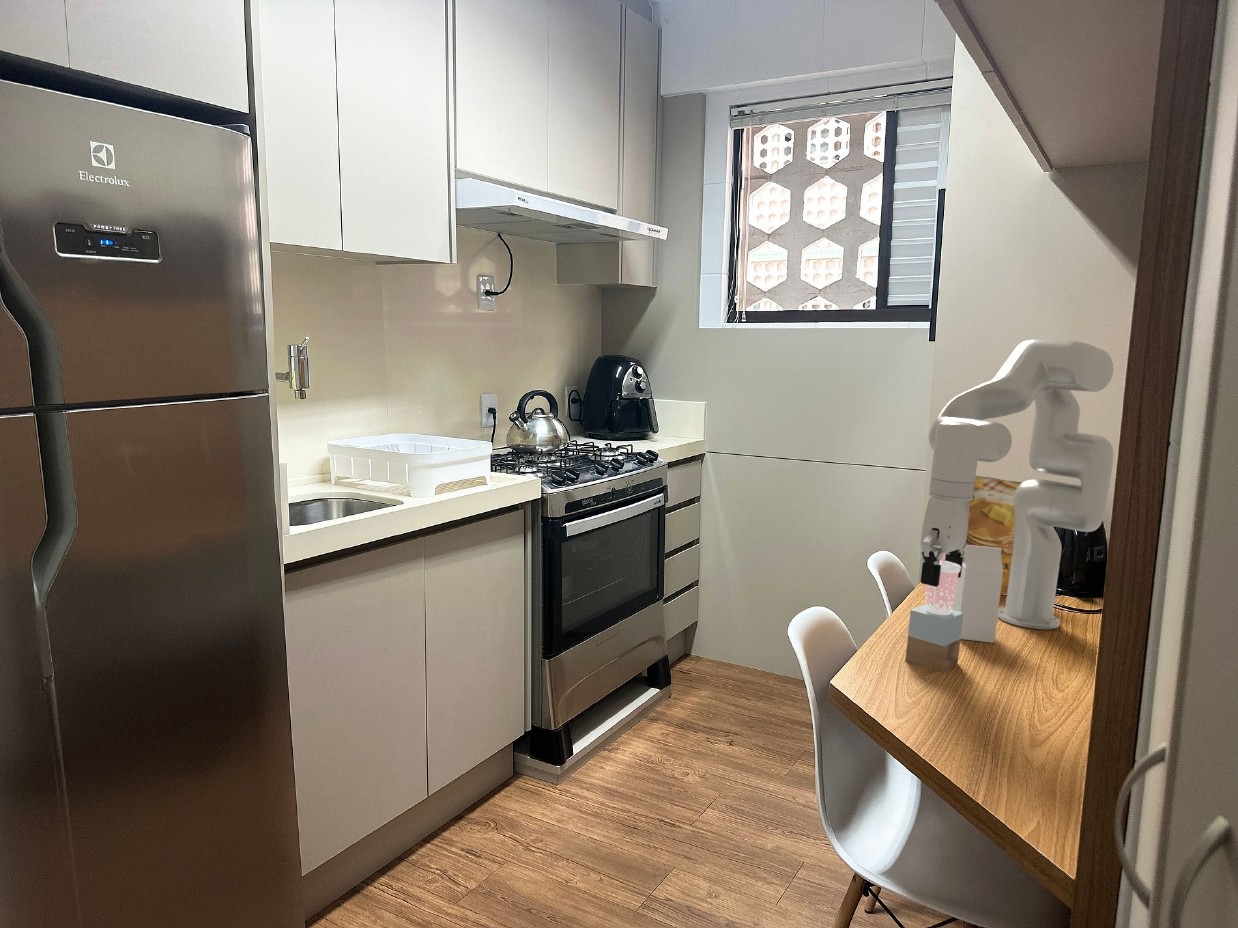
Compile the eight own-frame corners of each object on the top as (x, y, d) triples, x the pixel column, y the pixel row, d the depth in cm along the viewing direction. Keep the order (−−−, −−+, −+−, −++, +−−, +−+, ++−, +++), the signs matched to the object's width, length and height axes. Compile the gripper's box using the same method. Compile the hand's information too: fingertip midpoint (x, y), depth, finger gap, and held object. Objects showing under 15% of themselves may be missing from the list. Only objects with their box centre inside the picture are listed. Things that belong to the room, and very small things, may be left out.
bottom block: (921, 652, 162) (924, 628, 161) (957, 663, 157) (960, 638, 156) (905, 661, 157) (908, 635, 156) (941, 672, 152) (944, 646, 151)
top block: (924, 628, 161) (927, 603, 160) (960, 638, 156) (963, 612, 156) (907, 635, 156) (910, 609, 155) (944, 646, 151) (947, 620, 151)
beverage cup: (961, 612, 156) (969, 538, 154) (947, 618, 151) (955, 543, 149) (929, 603, 160) (937, 532, 158) (914, 609, 156) (922, 536, 154)
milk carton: (994, 643, 169) (1005, 552, 167) (957, 639, 171) (968, 548, 168) (986, 632, 176) (997, 544, 173) (950, 628, 178) (961, 540, 175)
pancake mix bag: (944, 577, 218) (957, 472, 214) (1024, 593, 208) (1039, 482, 204) (938, 583, 213) (951, 474, 209) (1019, 599, 202) (1034, 485, 198)
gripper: (950, 482, 161) (940, 568, 163) (910, 490, 149) (900, 583, 151) (990, 488, 156) (979, 577, 158) (952, 497, 143) (941, 593, 146)
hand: (940, 580), depth 155 cm, fingers open, 9 cm apart
